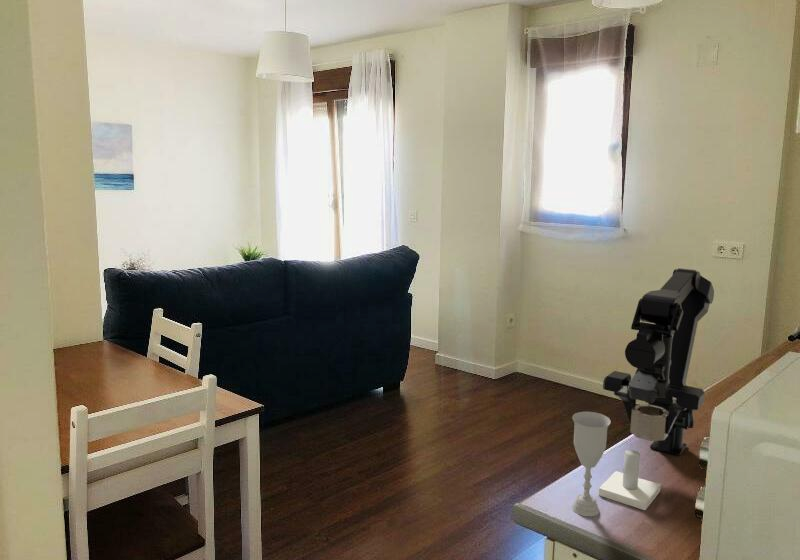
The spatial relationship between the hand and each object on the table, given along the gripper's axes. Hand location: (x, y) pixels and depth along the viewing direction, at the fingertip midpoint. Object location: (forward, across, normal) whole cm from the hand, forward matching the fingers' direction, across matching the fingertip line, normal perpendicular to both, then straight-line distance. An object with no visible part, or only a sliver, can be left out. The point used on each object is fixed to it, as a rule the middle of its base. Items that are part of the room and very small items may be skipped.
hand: (649, 428), depth 133 cm
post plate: (+10, 0, -10) cm, 14 cm away
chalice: (+10, -4, -21) cm, 24 cm away
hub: (+1, 0, 0) cm, 1 cm away
